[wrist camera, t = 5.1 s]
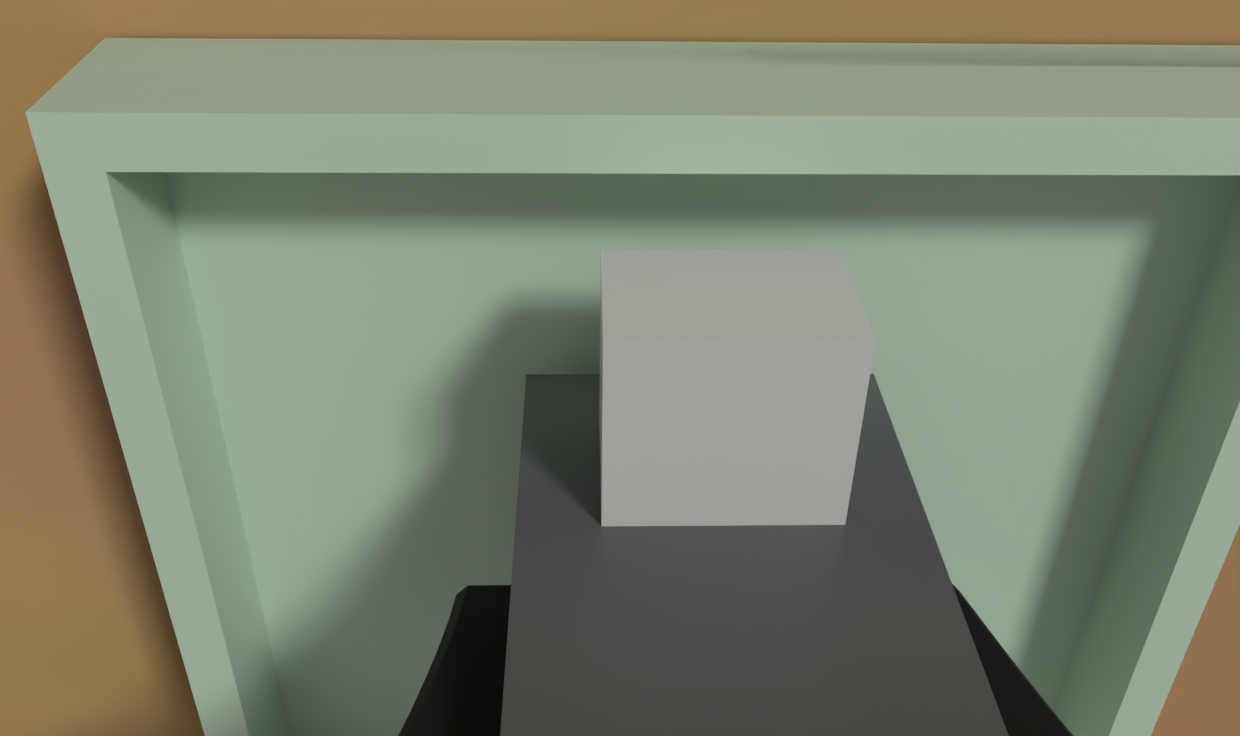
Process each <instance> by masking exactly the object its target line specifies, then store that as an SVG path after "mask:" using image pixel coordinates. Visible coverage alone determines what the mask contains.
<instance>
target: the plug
mask: <svg viewBox="0 0 1240 736" xmlns="http://www.w3.org/2000/svg"><path fill="white" fill-rule="evenodd" d="M875 343H876V339H875V336H874V334H873V331H872V328H871V326H870V323H869V321H868V318H867V316H866V313H865V311H864V308H863V306H862V303H861V301H860V298H859V295H858V293H857V290H856V288H855V285H854V283H853V280H852V278H851V275H850V273H849V270H848V267H847V265H846V262H845V260H844V257H843V255H842V252H841V250H840V249H601V251H600V374H526V385H525V399H524V413H523V427H522V441H521V455H520V469H519V482H518V496H517V510H516V524H515V538H514V552H513V565H512V579H511V593H510V607H509V621H508V635H507V648H506V662H505V676H504V690H503V704H502V718H501V732H500V736H1009V735H1008V732H1007V730H1006V727H1005V724H1004V722H1003V719H1002V716H1001V714H1000V711H999V708H998V706H997V703H996V700H995V698H994V695H993V692H992V690H991V687H990V684H989V682H988V679H987V676H986V674H985V671H984V668H983V666H982V663H981V660H980V657H979V655H978V652H977V649H976V647H975V644H974V641H973V639H972V636H971V633H970V631H969V628H968V625H967V623H966V620H965V617H964V615H963V612H962V609H961V607H960V604H959V601H958V599H957V596H956V593H955V590H954V588H953V585H952V582H951V580H950V577H949V574H948V572H947V569H946V566H945V564H944V561H943V558H942V556H941V553H940V550H939V548H938V545H937V542H936V540H935V537H934V534H933V532H932V529H931V526H930V524H929V521H928V518H927V515H926V513H925V510H924V507H923V505H922V502H921V499H920V497H919V494H918V491H917V489H916V486H915V483H914V481H913V478H912V475H911V473H910V470H909V467H908V465H907V462H906V459H905V457H904V454H903V451H902V449H901V446H900V443H899V440H898V438H897V435H896V432H895V430H894V427H893V424H892V422H891V419H890V416H889V414H888V411H887V408H886V406H885V403H884V400H883V398H882V395H881V392H880V390H879V387H878V384H877V382H876V379H875V376H874V374H870V373H871V367H872V361H873V355H874V349H875Z"/></svg>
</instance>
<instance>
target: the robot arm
mask: <svg viewBox="0 0 1240 736" xmlns="http://www.w3.org/2000/svg"><path fill="white" fill-rule="evenodd" d="M952 585H953V584H952ZM953 588H954V590H955V593H956V596H957V599H958V601H959V604H960V607H961V609H962V612H963V615H964V617H965V620H966V623H967V625H968V628H969V631H970V633H971V636H972V639H973V641H974V644H975V647H976V649H977V652H978V655H979V657H980V660H981V663H982V666H983V668H984V671H985V674H986V676H987V679H988V682H989V684H990V687H991V690H992V692H993V695H994V698H995V700H996V703H997V706H998V708H999V711H1000V714H1001V716H1002V719H1003V722H1004V724H1005V727H1006V730H1007V732H1008V735H1009V736H1073V735H1072V733H1071V732H1070V731H1069V730H1068V729H1067V728H1066V726H1065V725H1064V724H1063V723H1062V721H1061V720H1060V719H1059V718H1058V717H1057V715H1056V714H1055V713H1054V712H1053V710H1052V709H1051V708H1050V707H1049V706H1048V704H1047V703H1046V702H1045V701H1044V699H1043V698H1042V697H1041V696H1040V694H1039V693H1038V692H1037V691H1036V689H1035V688H1034V687H1033V686H1032V684H1031V683H1030V682H1029V680H1028V679H1027V678H1026V677H1025V675H1024V674H1023V673H1022V672H1021V670H1020V669H1019V668H1018V667H1017V665H1016V664H1015V663H1014V661H1013V660H1012V659H1011V658H1010V656H1009V655H1008V654H1007V652H1006V651H1005V650H1004V649H1003V647H1002V646H1001V645H1000V643H999V642H998V641H997V639H996V638H995V637H994V636H993V634H992V633H991V632H990V630H989V629H988V628H987V626H986V625H985V624H984V622H983V621H982V620H981V619H980V617H979V616H978V615H977V613H976V612H975V611H974V609H973V608H972V607H971V605H970V604H969V603H968V601H967V600H966V599H965V597H964V596H963V595H962V593H961V592H960V591H959V590H958V589H957V588H956V587H955V586H954V585H953ZM510 593H511V585H468V586H467V587H465V588H464V589H463V590H461V591H460V592H459V593H458V594H456V597H455V601H454V604H453V607H452V611H451V614H450V617H449V620H448V623H447V626H446V628H445V631H444V634H443V637H442V639H441V642H440V645H439V647H438V650H437V652H436V655H435V657H434V660H433V662H432V664H431V667H430V669H429V672H428V674H427V676H426V678H425V680H424V683H423V685H422V687H421V689H420V692H419V694H418V696H417V698H416V700H415V703H414V705H413V707H412V709H411V711H410V714H409V716H408V717H407V719H406V721H405V723H404V725H403V727H402V729H401V731H400V733H399V735H398V736H500V732H501V718H502V704H503V690H504V676H505V662H506V648H507V635H508V621H509V607H510Z"/></svg>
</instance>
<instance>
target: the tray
mask: <svg viewBox="0 0 1240 736" xmlns="http://www.w3.org/2000/svg"><path fill="white" fill-rule="evenodd" d="M25 113H26V116H27V119H28V123H29V126H30V130H31V133H32V137H33V140H34V144H35V147H36V151H37V154H38V158H39V161H40V165H41V168H42V172H43V175H44V179H45V182H46V186H47V189H48V193H49V196H50V199H51V203H52V206H53V210H54V213H55V217H56V220H57V224H58V227H59V231H60V234H61V238H62V241H63V245H64V248H65V252H66V255H67V259H68V262H69V266H70V269H71V272H72V276H73V279H74V283H75V286H76V290H77V293H78V297H79V300H80V304H81V307H82V311H83V314H84V318H85V321H86V325H87V328H88V332H89V335H90V339H91V342H92V346H93V349H94V352H95V356H96V359H97V363H98V366H99V370H100V373H101V377H102V380H103V384H104V387H105V391H106V394H107V398H108V401H109V405H110V408H111V412H112V415H113V419H114V422H115V426H116V429H117V432H118V436H119V439H120V443H121V446H122V450H123V453H124V457H125V460H126V464H127V467H128V471H129V474H130V478H131V481H132V485H133V488H134V492H135V495H136V499H137V502H138V506H139V509H140V512H141V516H142V519H143V523H144V526H145V530H146V533H147V537H148V540H149V544H150V547H151V551H152V554H153V558H154V561H155V565H156V568H157V572H158V575H159V579H160V582H161V586H162V589H163V592H164V596H165V599H166V603H167V606H168V610H169V613H170V617H171V620H172V624H173V627H174V631H175V634H176V638H177V641H178V645H179V648H180V652H181V655H182V659H183V662H184V666H185V669H186V672H187V676H188V679H189V683H190V686H191V690H192V693H193V697H194V700H195V704H196V707H197V711H198V714H199V718H200V721H201V725H202V728H203V732H204V735H205V736H398V735H399V733H400V731H401V729H402V727H403V725H404V723H405V721H406V719H407V717H408V716H409V714H410V711H411V709H412V707H413V705H414V703H415V700H416V698H417V696H418V694H419V692H420V689H421V687H422V685H423V683H424V680H425V678H426V676H427V674H428V672H429V669H430V667H431V664H432V662H433V660H434V657H435V655H436V652H437V650H438V647H439V645H440V642H441V639H442V637H443V634H444V631H445V628H446V626H447V623H448V620H449V617H450V614H451V611H452V607H453V604H454V601H455V597H456V594H458V593H459V592H460V591H461V590H463V589H464V588H465V587H467V586H468V585H511V579H512V565H513V552H514V538H515V524H516V510H517V496H518V482H519V469H520V455H521V441H522V427H523V413H524V399H525V385H526V374H600V251H601V249H840V250H841V252H842V255H843V257H844V260H845V262H846V265H847V267H848V270H849V273H850V275H851V278H852V280H853V283H854V285H855V288H856V290H857V293H858V295H859V298H860V301H861V303H862V306H863V308H864V311H865V313H866V316H867V318H868V321H869V323H870V326H871V328H872V331H873V334H874V336H875V339H876V343H875V349H874V355H873V361H872V367H871V373H870V374H874V376H875V379H876V382H877V384H878V387H879V390H880V392H881V395H882V398H883V400H884V403H885V406H886V408H887V411H888V414H889V416H890V419H891V422H892V424H893V427H894V430H895V432H896V435H897V438H898V440H899V443H900V446H901V449H902V451H903V454H904V457H905V459H906V462H907V465H908V467H909V470H910V473H911V475H912V478H913V481H914V483H915V486H916V489H917V491H918V494H919V497H920V499H921V502H922V505H923V507H924V510H925V513H926V515H927V518H928V521H929V524H930V526H931V529H932V532H933V534H934V537H935V540H936V542H937V545H938V548H939V550H940V553H941V556H942V558H943V561H944V564H945V566H946V569H947V572H948V574H949V577H950V580H951V582H952V584H953V585H954V586H955V587H956V588H957V589H958V590H959V591H960V592H961V593H962V595H963V596H964V597H965V599H966V600H967V601H968V603H969V604H970V605H971V607H972V608H973V609H974V611H975V612H976V613H977V615H978V616H979V617H980V619H981V620H982V621H983V622H984V624H985V625H986V626H987V628H988V629H989V630H990V632H991V633H992V634H993V636H994V637H995V638H996V639H997V641H998V642H999V643H1000V645H1001V646H1002V647H1003V649H1004V650H1005V651H1006V652H1007V654H1008V655H1009V656H1010V658H1011V659H1012V660H1013V661H1014V663H1015V664H1016V665H1017V667H1018V668H1019V669H1020V670H1021V672H1022V673H1023V674H1024V675H1025V677H1026V678H1027V679H1028V680H1029V682H1030V683H1031V684H1032V686H1033V687H1034V688H1035V689H1036V691H1037V692H1038V693H1039V694H1040V696H1041V697H1042V698H1043V699H1044V701H1045V702H1046V703H1047V704H1048V706H1049V707H1050V708H1051V709H1052V710H1053V712H1054V713H1055V714H1056V715H1057V717H1058V718H1059V719H1060V720H1061V721H1062V723H1063V724H1064V725H1065V726H1066V728H1067V729H1068V730H1069V731H1070V732H1071V733H1072V735H1073V736H1151V734H1152V731H1153V729H1154V726H1155V724H1156V722H1157V719H1158V717H1159V715H1160V712H1161V710H1162V707H1163V705H1164V703H1165V700H1166V698H1167V696H1168V693H1169V691H1170V689H1171V686H1172V684H1173V681H1174V679H1175V677H1176V674H1177V672H1178V670H1179V667H1180V665H1181V662H1182V660H1183V658H1184V655H1185V653H1186V651H1187V648H1188V646H1189V643H1190V641H1191V639H1192V636H1193V634H1194V632H1195V629H1196V627H1197V625H1198V622H1199V620H1200V617H1201V615H1202V613H1203V610H1204V608H1205V606H1206V603H1207V601H1208V598H1209V596H1210V594H1211V591H1212V589H1213V587H1214V584H1215V582H1216V580H1217V577H1218V575H1219V572H1220V570H1221V568H1222V565H1223V563H1224V561H1225V558H1226V556H1227V553H1228V551H1229V549H1230V546H1231V544H1232V542H1233V539H1234V537H1235V535H1236V532H1237V530H1238V527H1239V525H1240V45H1106V44H956V43H806V42H656V41H505V40H355V39H205V38H105V39H104V40H102V41H101V42H100V43H99V44H98V45H97V46H96V47H95V48H94V49H93V50H92V51H91V52H90V53H88V54H87V55H86V56H85V57H84V58H83V59H82V60H81V61H80V62H79V63H78V64H77V65H76V66H75V67H73V68H72V69H71V70H70V71H69V72H68V73H67V74H66V75H65V76H64V77H63V78H62V79H61V80H60V81H58V82H57V83H56V84H55V85H54V86H53V87H52V88H51V89H50V90H49V91H48V92H47V93H46V94H44V95H43V96H42V97H41V98H40V99H39V100H38V101H37V102H36V103H35V104H34V105H33V106H32V107H31V108H29V109H28V110H27V111H26V112H25Z"/></svg>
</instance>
